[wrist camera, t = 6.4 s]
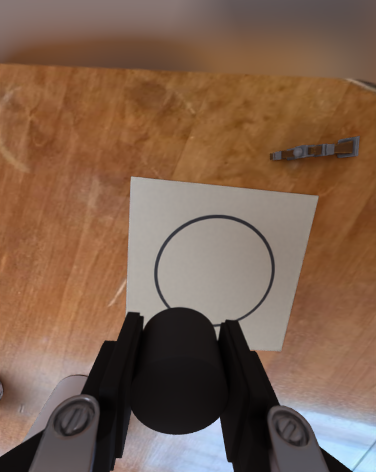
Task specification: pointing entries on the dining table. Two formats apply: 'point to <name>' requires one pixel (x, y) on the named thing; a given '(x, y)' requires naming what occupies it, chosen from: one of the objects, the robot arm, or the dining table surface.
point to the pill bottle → (1, 390)
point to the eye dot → (179, 373)
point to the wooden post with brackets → (321, 150)
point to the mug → (57, 401)
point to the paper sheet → (217, 254)
